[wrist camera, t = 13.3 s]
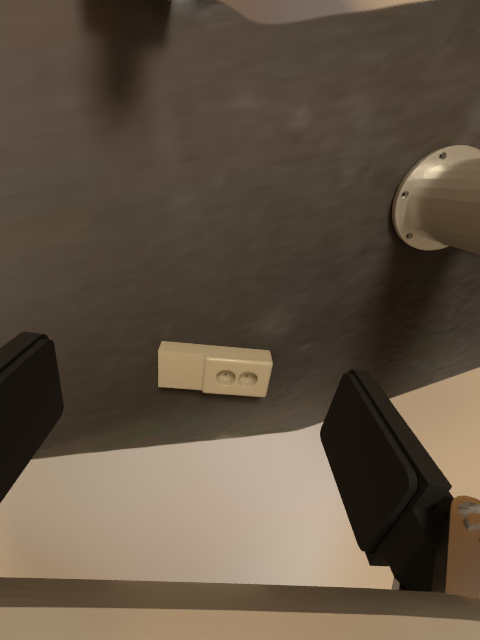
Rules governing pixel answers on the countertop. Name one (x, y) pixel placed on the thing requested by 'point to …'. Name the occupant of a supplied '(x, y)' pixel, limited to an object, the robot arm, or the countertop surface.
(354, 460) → the robot arm
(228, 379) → the electrical outlet
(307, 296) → the countertop surface
